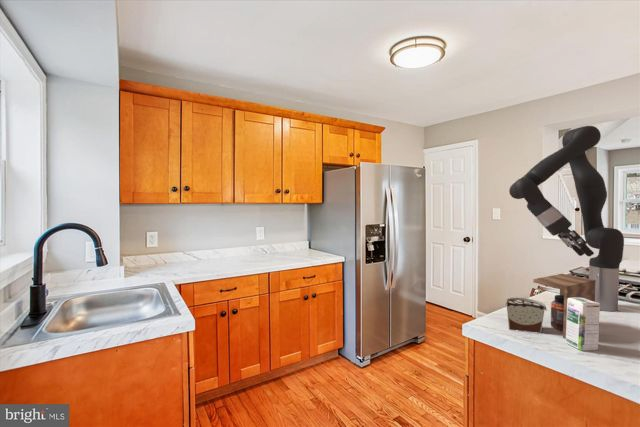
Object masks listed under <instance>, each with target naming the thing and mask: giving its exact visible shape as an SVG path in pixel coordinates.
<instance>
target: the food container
mask: <svg viewBox="0 0 640 427" xmlns="http://www.w3.org/2000/svg"><path fill="white" fill-rule="evenodd" d="M504 307H505V308H506V310H507V311H506V312H507V321H508V322H507V323H508V330H510V331H516V330H518V332H524V331H526V333H533V332H537V333H536V334H542V329H543V322H544V315H545V311H548V310H547V306H546V304H545V303H543V302H542V301H539V300H536V299H530V298H526V297H525V298H524V297H510V298H507V299H506V301H505V303H504Z"/></svg>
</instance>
